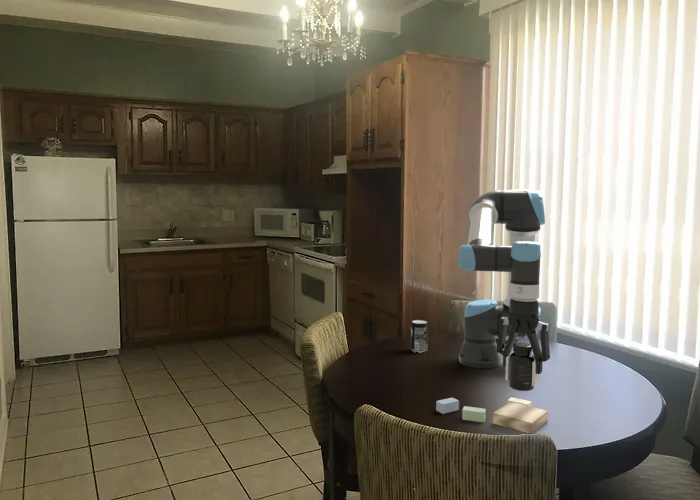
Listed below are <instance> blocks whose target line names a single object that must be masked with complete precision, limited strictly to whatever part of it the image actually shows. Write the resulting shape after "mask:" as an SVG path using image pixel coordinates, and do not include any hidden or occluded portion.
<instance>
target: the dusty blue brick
mask: <svg viewBox="0 0 700 500" xmlns="http://www.w3.org/2000/svg"><path fill="white" fill-rule="evenodd" d="M435 403H436V404H435V406H436V407H435V409H436V412H439V413H440V414H442V415H444V414H448V413H452V412H457V411H459V410H460V400H458V399H456V398H454V397H449V398H443V399H439V400H436V402H435Z"/></svg>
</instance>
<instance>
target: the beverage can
mask: <svg viewBox="0 0 700 500" xmlns="http://www.w3.org/2000/svg"><path fill="white" fill-rule="evenodd" d="M410 325H411V326H410V350H411V351H412V352H413V353H416V352H418V353H417V354H422V353H423V352H424V353H426V352H427V351H428V346H429V344H428V342H429V339H428V337H429V325H428V321H426V320H424V319H423V320H421V319H415V320H412V322H411V324H410ZM425 351H426V352H425Z"/></svg>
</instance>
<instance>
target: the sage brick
mask: <svg viewBox="0 0 700 500" xmlns="http://www.w3.org/2000/svg"><path fill="white" fill-rule="evenodd" d="M461 411H462V415H461V417H462V419H461V420H462V421H463V420H464V421H470V422H478V423H485V421H486V413H487V409H486V408H483V407H473V406H467V405H464V406H463V408H462V409H461Z"/></svg>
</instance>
